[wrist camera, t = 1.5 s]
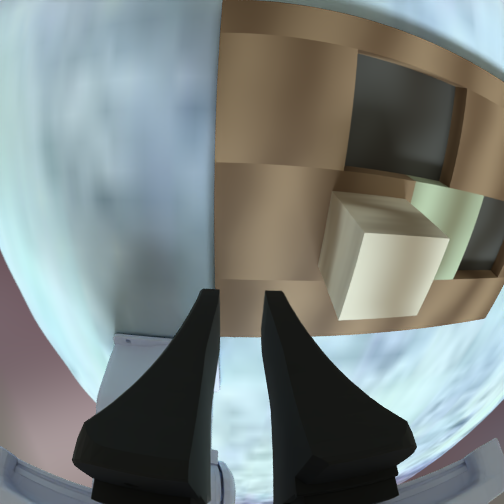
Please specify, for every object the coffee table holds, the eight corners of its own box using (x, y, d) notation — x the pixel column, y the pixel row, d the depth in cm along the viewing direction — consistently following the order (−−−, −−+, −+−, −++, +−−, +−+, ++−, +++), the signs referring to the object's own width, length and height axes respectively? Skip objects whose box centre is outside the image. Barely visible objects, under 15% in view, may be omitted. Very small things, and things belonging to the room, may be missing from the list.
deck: (217, 322, 23) (216, 336, 21) (224, 6, 11) (222, -1, 10) (478, 309, 24) (484, 318, 23) (542, 116, 13) (553, 120, 12)
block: (318, 265, 18) (338, 320, 14) (332, 190, 16) (364, 232, 11) (385, 266, 19) (416, 315, 14) (405, 199, 16) (449, 238, 12)
